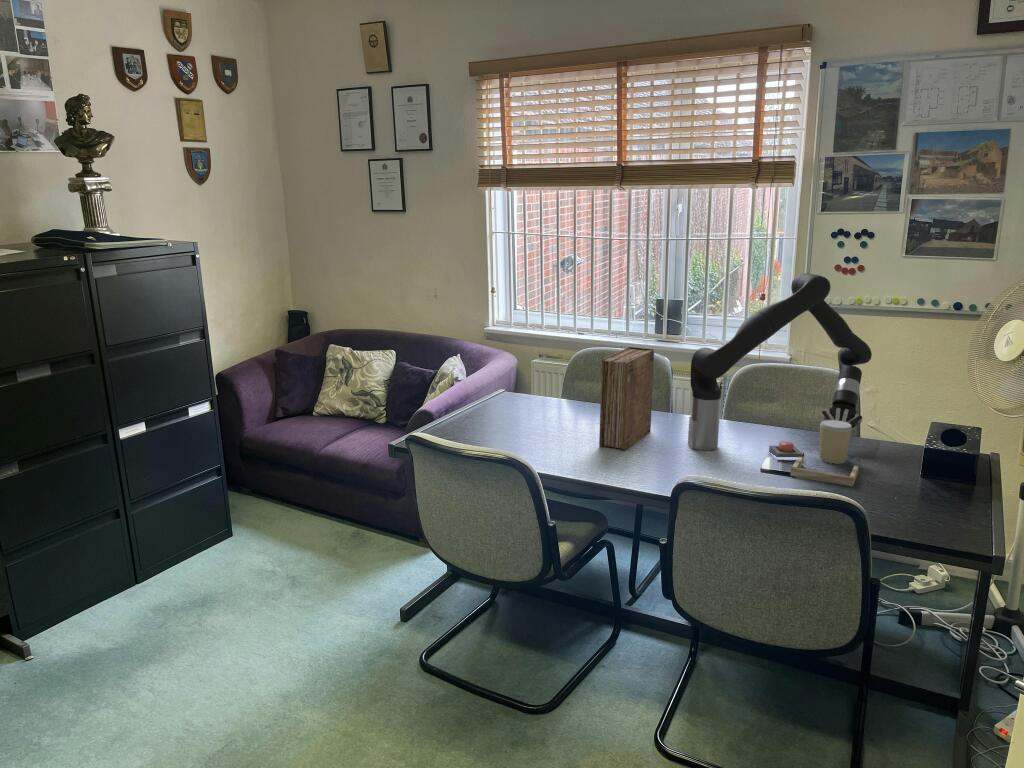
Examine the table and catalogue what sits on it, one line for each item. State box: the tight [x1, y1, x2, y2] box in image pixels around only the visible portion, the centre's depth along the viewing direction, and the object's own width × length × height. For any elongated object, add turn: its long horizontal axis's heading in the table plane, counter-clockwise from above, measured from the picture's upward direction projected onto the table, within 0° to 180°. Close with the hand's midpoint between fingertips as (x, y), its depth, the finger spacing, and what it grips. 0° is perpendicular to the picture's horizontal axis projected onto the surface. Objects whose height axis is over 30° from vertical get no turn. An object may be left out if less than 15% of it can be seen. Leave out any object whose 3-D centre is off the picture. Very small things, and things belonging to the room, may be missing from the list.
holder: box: [790, 457, 859, 487], centre depth 228 cm, size 12×17×2 cm
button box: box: [768, 445, 804, 458], centre depth 245 cm, size 8×8×2 cm
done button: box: [778, 441, 795, 452], centre depth 244 cm, size 4×4×3 cm
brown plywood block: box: [598, 346, 655, 452], centre depth 259 cm, size 25×9×30 cm, turn 151°
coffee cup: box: [819, 419, 853, 465], centre depth 241 cm, size 9×9×12 cm
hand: (837, 439), depth 247 cm, fingers closed
